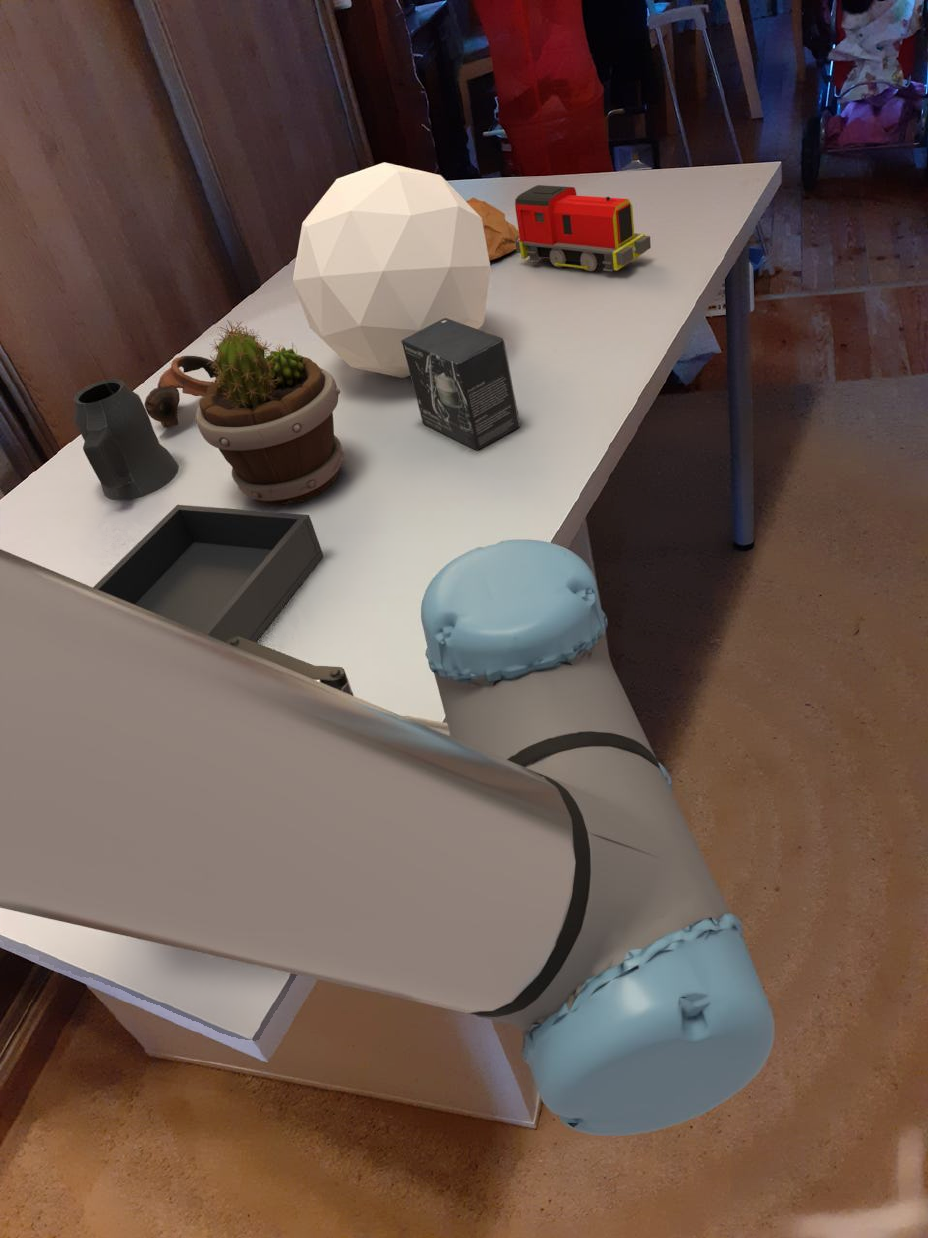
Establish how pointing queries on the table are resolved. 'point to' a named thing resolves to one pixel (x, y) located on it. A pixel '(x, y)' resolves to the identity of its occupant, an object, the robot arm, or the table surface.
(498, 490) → the table surface
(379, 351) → the lamp
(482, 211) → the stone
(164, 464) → the mug
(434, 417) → the box
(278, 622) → the table surface
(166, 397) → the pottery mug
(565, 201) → the toy train
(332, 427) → the flowerpot
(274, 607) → the tub
